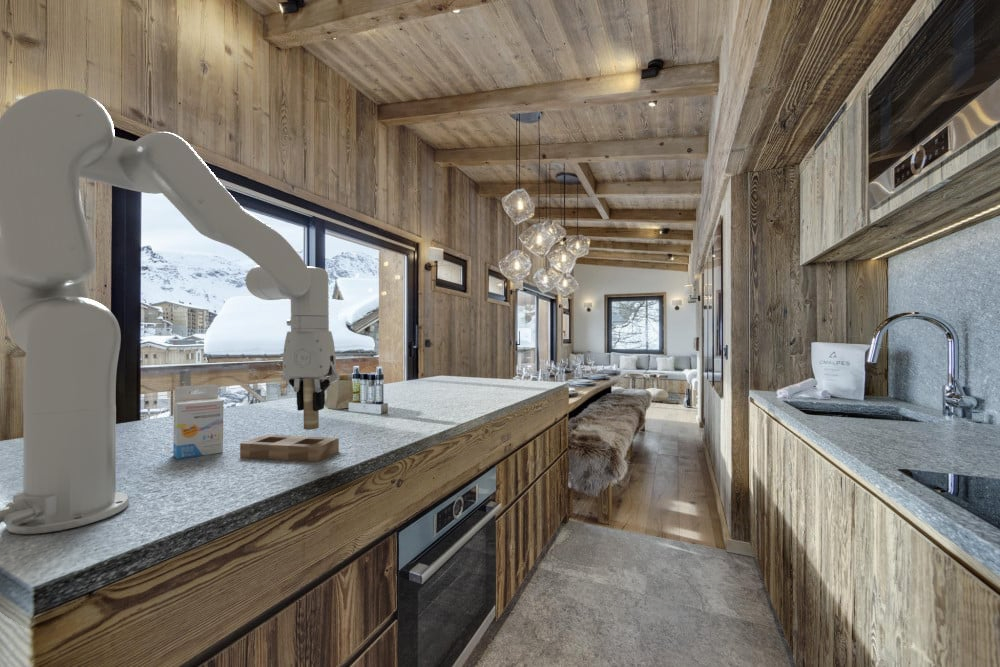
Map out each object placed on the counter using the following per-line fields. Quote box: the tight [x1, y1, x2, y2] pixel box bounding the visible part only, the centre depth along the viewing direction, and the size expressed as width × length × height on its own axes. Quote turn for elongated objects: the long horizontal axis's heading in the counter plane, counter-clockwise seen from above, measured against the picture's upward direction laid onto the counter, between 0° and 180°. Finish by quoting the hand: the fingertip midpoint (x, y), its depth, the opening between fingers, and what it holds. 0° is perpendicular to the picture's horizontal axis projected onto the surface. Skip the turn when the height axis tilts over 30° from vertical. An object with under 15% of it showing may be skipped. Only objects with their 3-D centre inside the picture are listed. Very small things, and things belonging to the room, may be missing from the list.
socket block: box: [239, 434, 340, 463], centre depth 95 cm, size 8×18×3 cm, turn 81°
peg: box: [303, 378, 320, 431], centre depth 94 cm, size 3×3×12 cm
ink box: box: [172, 383, 224, 460], centre depth 95 cm, size 8×5×15 cm, turn 134°
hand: (310, 408), depth 94 cm, fingers closed on peg, 3 cm apart
